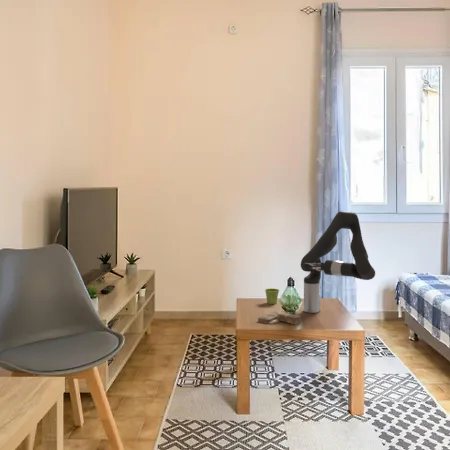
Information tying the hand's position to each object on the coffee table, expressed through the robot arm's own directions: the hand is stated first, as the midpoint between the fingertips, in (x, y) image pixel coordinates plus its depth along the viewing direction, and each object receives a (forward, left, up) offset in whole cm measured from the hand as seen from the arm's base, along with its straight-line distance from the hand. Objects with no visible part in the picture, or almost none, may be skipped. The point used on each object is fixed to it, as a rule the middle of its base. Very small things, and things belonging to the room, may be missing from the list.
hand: (304, 265), depth 252 cm
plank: (+2, -3, -30) cm, 30 cm away
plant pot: (-21, -47, -32) cm, 61 cm away
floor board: (+6, -17, -32) cm, 37 cm away
